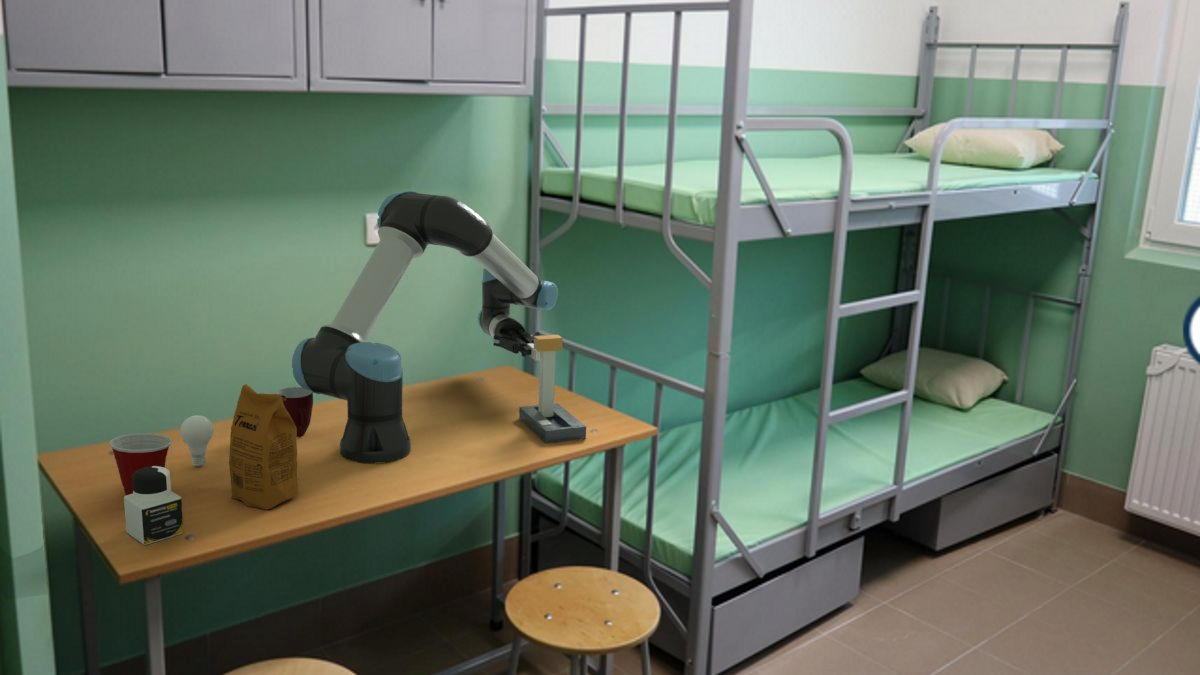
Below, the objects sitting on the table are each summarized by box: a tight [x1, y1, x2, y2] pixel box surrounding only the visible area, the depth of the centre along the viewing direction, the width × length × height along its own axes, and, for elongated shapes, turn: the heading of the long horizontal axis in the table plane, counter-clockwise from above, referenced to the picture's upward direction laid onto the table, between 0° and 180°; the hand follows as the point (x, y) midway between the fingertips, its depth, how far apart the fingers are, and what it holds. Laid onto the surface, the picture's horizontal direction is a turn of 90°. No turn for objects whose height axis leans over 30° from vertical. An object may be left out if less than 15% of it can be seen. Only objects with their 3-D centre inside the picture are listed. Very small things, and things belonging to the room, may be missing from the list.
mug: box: [275, 386, 314, 438], centre depth 229 cm, size 11×8×10 cm
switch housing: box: [518, 402, 587, 444], centre depth 242 cm, size 18×10×3 cm, turn 24°
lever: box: [534, 334, 563, 417], centre depth 243 cm, size 3×6×20 cm, turn 114°
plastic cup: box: [108, 432, 173, 496], centre depth 193 cm, size 11×11×12 cm
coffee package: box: [228, 383, 299, 510], centre depth 194 cm, size 10×12×22 cm
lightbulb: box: [179, 414, 214, 468], centre depth 209 cm, size 6×6×11 cm
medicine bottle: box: [123, 466, 184, 546], centre depth 179 cm, size 7×7×12 cm
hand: (538, 355), depth 248 cm, fingers closed
